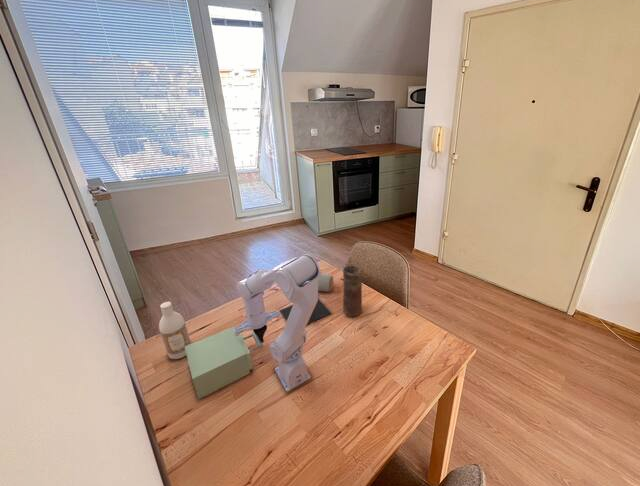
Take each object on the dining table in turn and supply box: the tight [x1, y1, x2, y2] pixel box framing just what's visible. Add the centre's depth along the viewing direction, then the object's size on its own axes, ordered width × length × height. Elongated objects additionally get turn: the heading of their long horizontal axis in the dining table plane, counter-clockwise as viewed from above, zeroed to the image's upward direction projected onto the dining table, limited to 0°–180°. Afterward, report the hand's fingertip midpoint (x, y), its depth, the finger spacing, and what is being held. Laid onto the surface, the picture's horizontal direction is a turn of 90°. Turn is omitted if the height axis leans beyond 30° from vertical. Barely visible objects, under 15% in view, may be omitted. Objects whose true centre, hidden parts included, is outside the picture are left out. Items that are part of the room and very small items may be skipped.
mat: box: [279, 298, 332, 326], centre depth 117 cm, size 13×16×1 cm
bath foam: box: [158, 301, 192, 360], centre depth 94 cm, size 7×7×20 cm
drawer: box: [238, 332, 264, 371], centre depth 93 cm, size 18×12×7 cm
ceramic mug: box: [318, 273, 334, 293], centre depth 131 cm, size 11×8×8 cm
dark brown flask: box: [342, 265, 363, 318], centre depth 115 cm, size 8×7×20 cm
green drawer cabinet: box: [185, 326, 251, 400], centre depth 91 cm, size 15×14×9 cm
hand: (260, 341), depth 99 cm, fingers closed, pressing on drawer
